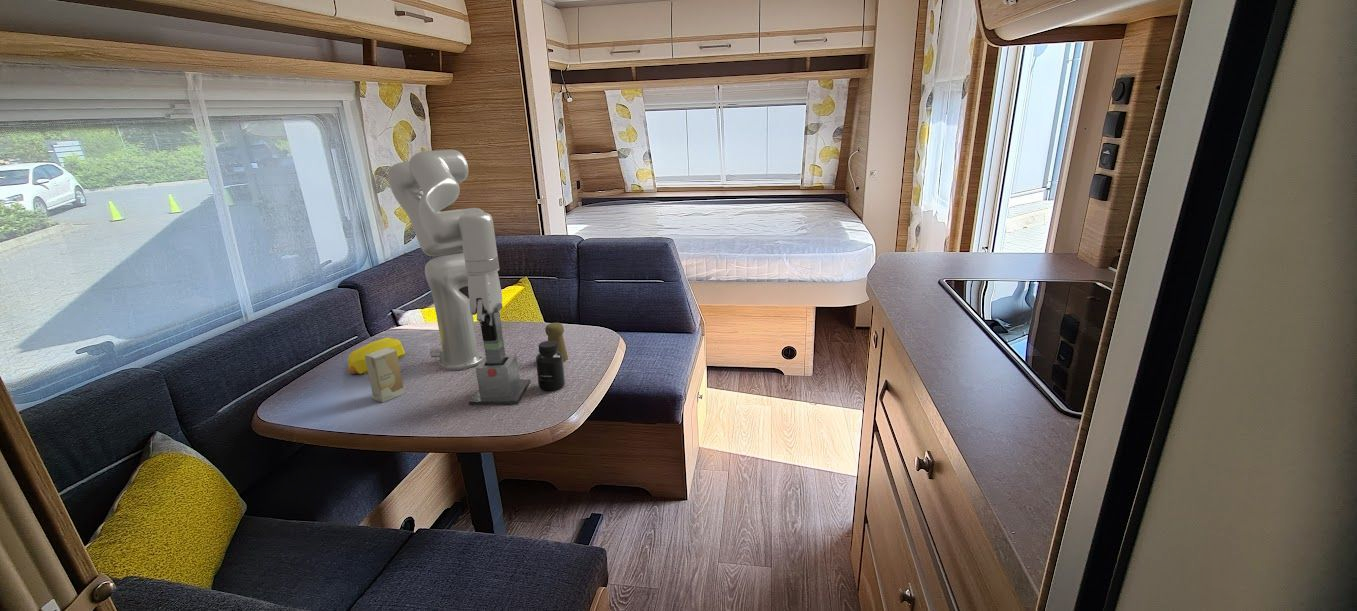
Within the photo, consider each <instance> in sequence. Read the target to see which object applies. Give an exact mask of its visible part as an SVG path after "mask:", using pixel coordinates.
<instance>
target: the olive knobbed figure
mask: <svg viewBox="0 0 1357 611" xmlns="http://www.w3.org/2000/svg"><path fill="white" fill-rule="evenodd" d="M544 330H545V331H544V332H545V334H546V335H547V341H555V342H557V343H558V351H559V352H561V354H562V355H563V363H565V361H566V360H567V361H568V360H569V355H568V352H567V347H566V344H565V343H566V342H565V340H564V336H563V334H564V332H565V330H564V326H563V324H562V323H561V322H551V323H548V324H547V325H546V326H545V328H544ZM567 361H566V362H567Z"/></svg>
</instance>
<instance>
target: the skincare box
mask: <svg viewBox="0 0 1357 611" xmlns="http://www.w3.org/2000/svg"><path fill="white" fill-rule="evenodd" d="M365 359H366V364H367V369H368V373H367V374H368V379H369V384H370V388H371V395H372V398H373V400H375V401H377V402H380V403H386V402H388V401H390V400H392V399H395V398H397V397H399V396H402V395H404V394H405V389H404V384H403V380H402V379H403V378H402V373H401V369H400V363H399V359H398V356H397V351H396V350H394V349H390V348H385V349H382V350H378V351H375V352H373V353H370V354H367V355H365Z"/></svg>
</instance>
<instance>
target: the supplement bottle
mask: <svg viewBox="0 0 1357 611" xmlns="http://www.w3.org/2000/svg"><path fill="white" fill-rule="evenodd" d="M538 352H539V353H538V354H537V355H536V356H535V364H536V372H537V381H538V387H539V389H540V391H542V392H549V393H550V392H556V391H560V390H561V389H563V388H564V386H565V385H566V379H565V366H564V362H563V355H562V354H561V352H559V351H558V343H557V342H555V341H548V340H545V341H542V342H540V343H538Z"/></svg>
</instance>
